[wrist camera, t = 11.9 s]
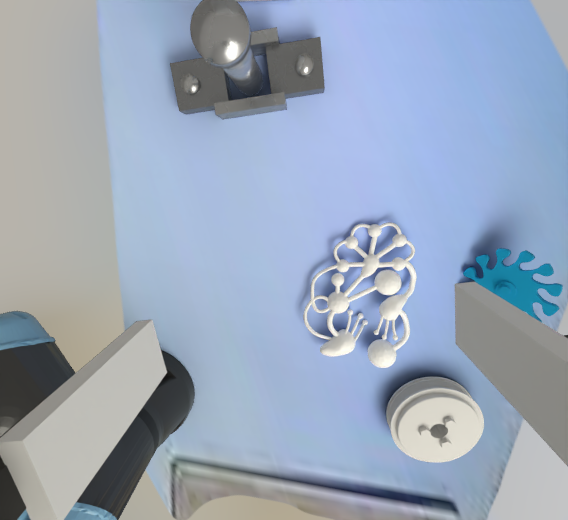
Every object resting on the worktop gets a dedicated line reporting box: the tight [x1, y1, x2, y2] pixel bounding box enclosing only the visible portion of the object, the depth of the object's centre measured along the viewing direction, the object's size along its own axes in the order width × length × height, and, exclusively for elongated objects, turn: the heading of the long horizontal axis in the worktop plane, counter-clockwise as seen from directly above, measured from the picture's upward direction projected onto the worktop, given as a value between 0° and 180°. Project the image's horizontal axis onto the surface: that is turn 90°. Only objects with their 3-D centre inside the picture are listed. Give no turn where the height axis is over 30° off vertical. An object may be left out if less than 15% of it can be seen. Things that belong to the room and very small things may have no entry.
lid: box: [386, 377, 484, 462], centre depth 44 cm, size 13×13×5 cm
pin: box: [190, 0, 263, 96], centre depth 30 cm, size 5×5×13 cm
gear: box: [463, 248, 563, 322], centre depth 39 cm, size 11×6×10 cm
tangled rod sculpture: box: [303, 223, 416, 368], centre depth 41 cm, size 19×14×4 cm
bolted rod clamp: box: [170, 27, 324, 119], centre depth 35 cm, size 17×7×3 cm, turn 97°
